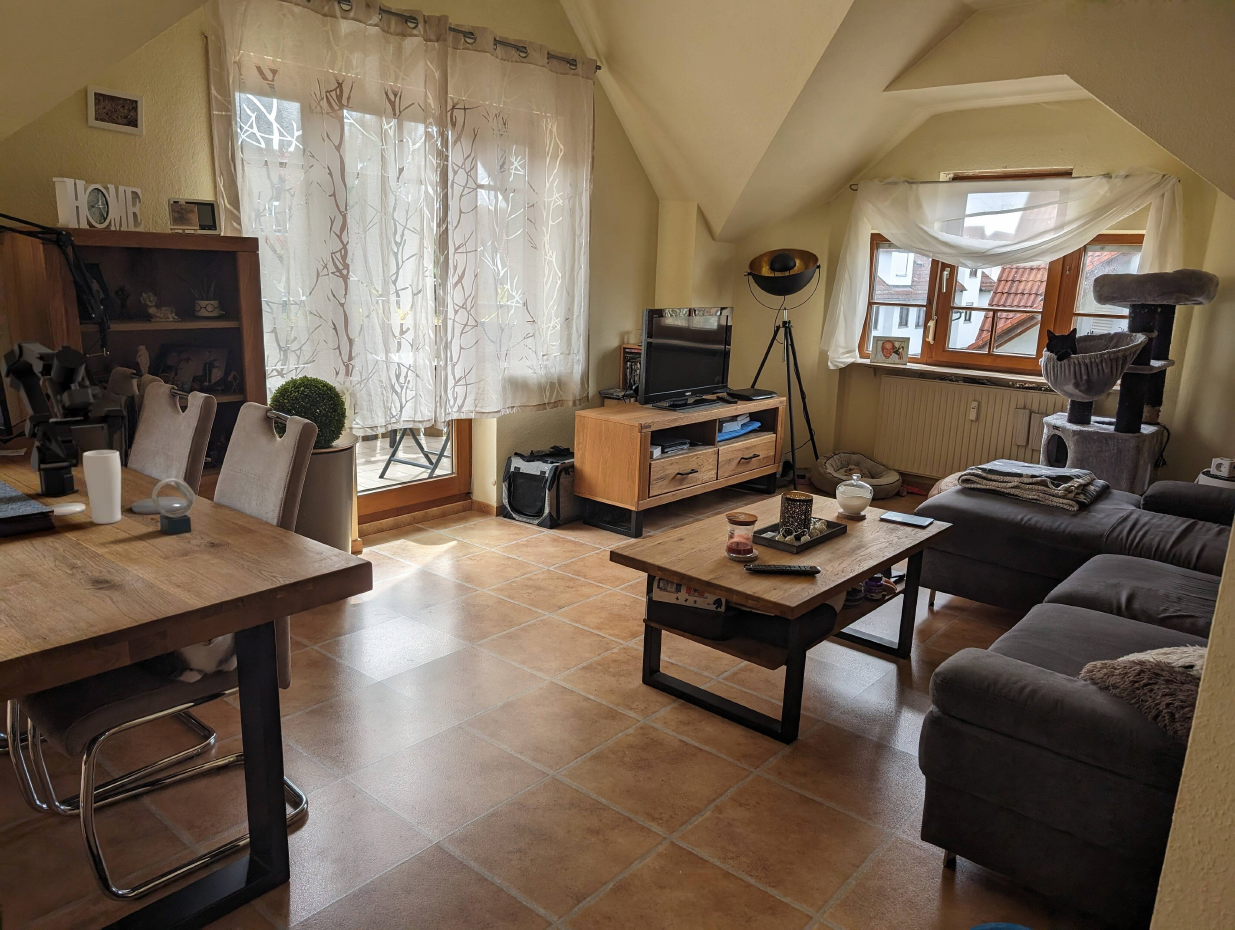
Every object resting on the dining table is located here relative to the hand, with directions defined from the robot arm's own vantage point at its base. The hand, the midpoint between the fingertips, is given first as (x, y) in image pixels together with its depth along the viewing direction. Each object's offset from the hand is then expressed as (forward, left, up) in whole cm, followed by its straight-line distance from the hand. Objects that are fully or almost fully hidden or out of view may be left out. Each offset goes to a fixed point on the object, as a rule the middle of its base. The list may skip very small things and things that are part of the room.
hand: (88, 453), depth 188 cm
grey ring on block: (+25, -5, -14) cm, 29 cm away
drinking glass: (+7, -4, -14) cm, 16 cm away
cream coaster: (-8, 0, -14) cm, 16 cm away
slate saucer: (+9, +9, -14) cm, 19 cm away
